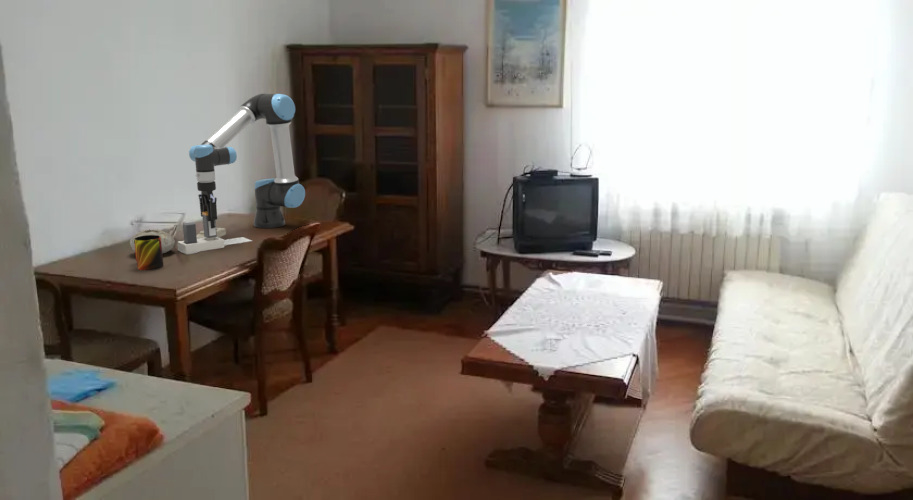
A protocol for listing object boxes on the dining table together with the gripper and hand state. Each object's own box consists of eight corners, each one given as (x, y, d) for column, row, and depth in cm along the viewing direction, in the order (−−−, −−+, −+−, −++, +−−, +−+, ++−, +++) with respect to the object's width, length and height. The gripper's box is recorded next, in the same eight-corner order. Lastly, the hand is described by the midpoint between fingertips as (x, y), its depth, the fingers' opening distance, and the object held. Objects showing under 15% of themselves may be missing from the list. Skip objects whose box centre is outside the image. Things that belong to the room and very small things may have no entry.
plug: (212, 235, 342) (211, 210, 340) (216, 236, 339) (214, 212, 337) (204, 236, 340) (202, 212, 337) (207, 238, 337) (205, 213, 334)
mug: (137, 263, 316) (134, 234, 313) (168, 264, 313) (165, 235, 310) (122, 269, 307) (119, 239, 304) (154, 271, 304) (151, 241, 301)
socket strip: (215, 244, 347) (213, 216, 344) (224, 248, 340) (222, 219, 337) (178, 250, 336) (175, 221, 333) (186, 254, 329) (183, 224, 326)
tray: (242, 238, 359) (242, 237, 359) (252, 241, 352) (252, 240, 352) (213, 242, 351) (213, 241, 350) (223, 246, 343) (223, 245, 343)
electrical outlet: (188, 235, 349) (212, 227, 366) (189, 244, 350) (213, 235, 367) (202, 236, 347) (225, 228, 364) (203, 245, 348) (226, 236, 365)
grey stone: (182, 249, 339) (180, 226, 336) (164, 259, 321) (162, 236, 319) (143, 248, 340) (141, 226, 338) (123, 258, 323) (120, 235, 320)
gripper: (189, 179, 338) (194, 232, 343) (205, 184, 325) (210, 239, 331) (206, 178, 342) (210, 230, 348) (223, 182, 330) (227, 236, 335)
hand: (210, 234), depth 339 cm, fingers closed on plug, 4 cm apart
